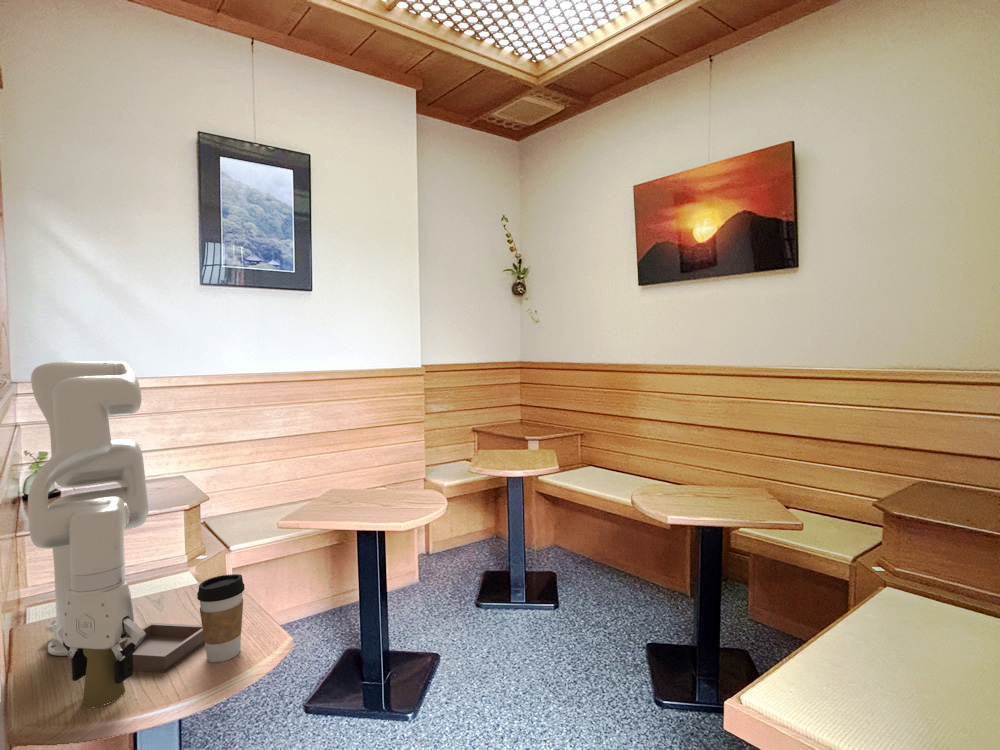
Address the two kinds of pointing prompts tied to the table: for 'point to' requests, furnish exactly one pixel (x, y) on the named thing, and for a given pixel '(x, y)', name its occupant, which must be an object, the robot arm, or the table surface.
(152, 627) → the lacquer tray
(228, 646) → the coffee cup
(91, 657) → the tan tall rounded piece
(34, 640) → the table surface
